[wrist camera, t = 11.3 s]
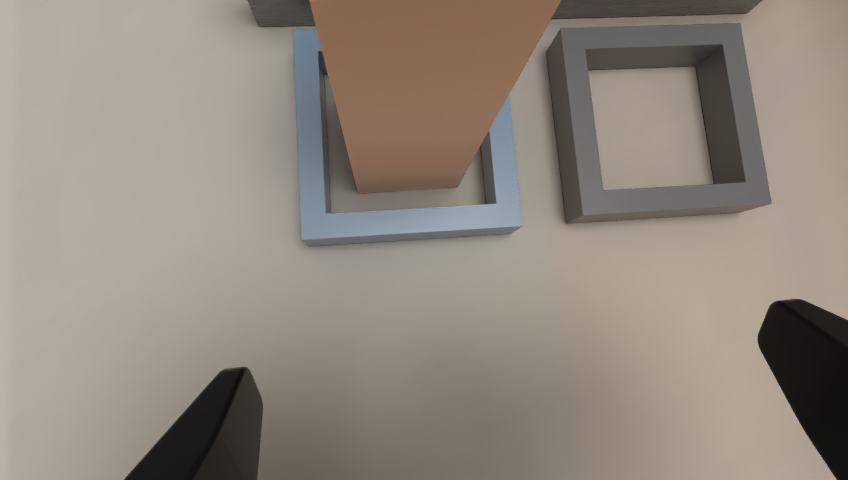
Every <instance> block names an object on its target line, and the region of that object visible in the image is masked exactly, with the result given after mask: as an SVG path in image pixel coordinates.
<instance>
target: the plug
mask: <svg viewBox="0 0 848 480" xmlns="http://www.w3.org/2000/svg"><path fill="white" fill-rule="evenodd" d="M309 1H310V5H311V9H312V13H313V17H314V21H315V25H316V29H317V33H318V37H319V41H320V45H321V49H322V53H323V57H324V61H325V64H326V68H327V72H328V76H329V80H330V84H331V88H332V92H333V96H334V100H335V104H336V108H337V112H338V116H339V120H340V124H341V128H342V132H343V136H344V140H345V144H346V148H347V152H348V156H349V160H350V164H351V168H352V171H353V175H354V179H355V183H356V187H357V191H358V194H360V193H376V192H391V191H407V190H422V189H438V188H453V187H458V185H459V183H460V181H461V180H462V178H463V176H464V174H465V172H466V171H467V169H468V167H469V165H470V164H471V162H472V160H473V158H474V156H475V155H476V153H477V151H478V149H479V147H480V146H481V144H482V142H483V140H484V138H485V137H486V135H487V133H488V131H489V129H490V128H491V126H492V124H493V122H494V120H495V119H496V117H497V115H498V113H499V111H500V110H501V108H502V106H503V104H504V102H505V101H506V99H507V97H508V95H509V93H510V92H511V90H512V88H513V86H514V84H515V83H516V81H517V79H518V77H519V75H520V74H521V72H522V70H523V68H524V66H525V65H526V63H527V61H528V59H529V57H530V56H531V54H532V52H533V50H534V48H535V47H536V45H537V43H538V41H539V39H540V38H541V36H542V34H543V32H544V30H545V29H546V27H547V25H548V23H549V21H550V20H551V18H552V16H553V14H554V12H555V11H556V9H557V7H558V5H559V3H560V2H561V0H309Z"/></svg>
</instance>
